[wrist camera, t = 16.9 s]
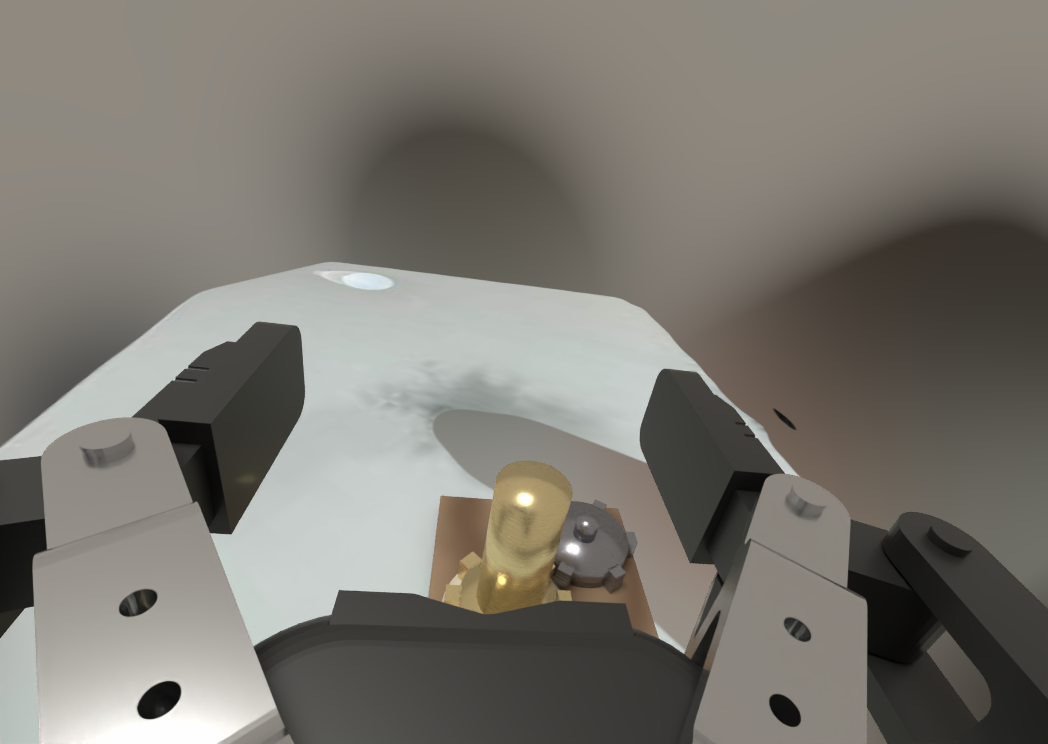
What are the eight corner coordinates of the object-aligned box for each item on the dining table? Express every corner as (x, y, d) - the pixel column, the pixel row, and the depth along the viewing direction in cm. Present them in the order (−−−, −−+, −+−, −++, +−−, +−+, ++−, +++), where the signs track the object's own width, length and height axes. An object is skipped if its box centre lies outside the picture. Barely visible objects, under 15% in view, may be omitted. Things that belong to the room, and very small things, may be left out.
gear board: (412, 737, 31) (413, 726, 30) (439, 504, 48) (440, 494, 47) (681, 739, 33) (688, 729, 32) (615, 517, 50) (618, 507, 50)
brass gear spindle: (437, 675, 33) (454, 541, 27) (448, 557, 41) (463, 434, 35) (575, 678, 34) (623, 551, 28) (559, 563, 42) (592, 446, 36)
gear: (531, 590, 40) (539, 558, 38) (524, 509, 48) (530, 480, 46) (643, 595, 41) (656, 565, 39) (618, 516, 49) (628, 488, 47)
